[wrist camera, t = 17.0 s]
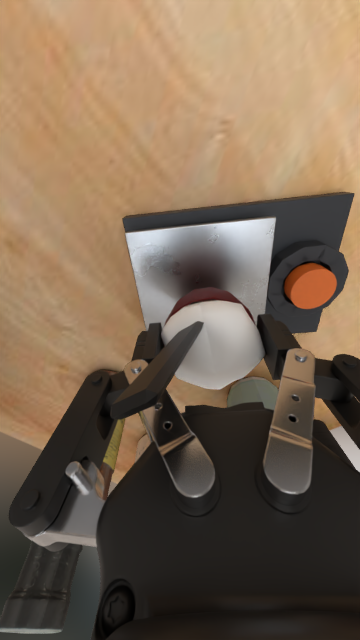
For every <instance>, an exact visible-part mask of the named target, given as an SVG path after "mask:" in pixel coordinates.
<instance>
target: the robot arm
mask: <svg viewBox="0 0 360 640" xmlns="http://www.w3.org/2000/svg"><path fill="white" fill-rule="evenodd" d="M256 327H257V329H258V330H259V333H260V336H261V340H262V343H263V346H264V349H265V352H266V355H265V356H264V357H263V358H264V360H265V363H266V365H267V367H268V369H269V372H270V374H271V376H272V379H273V380H280V381H281V382H280V386H279V391H278V395H277V400H276V404H275V409H274V410H272V409H268V408H265V407H264V404H263V402H247V403H241V404H237V405H234V406H231V407H227V408H219V407H213V406H207V405H196V406H185V412H184V413H180V412H179V410H178V408H177V407H176V405H175V403H174V402H173V400H172V398H171V397H170V395H169V394H168V392H167V390H166V389H165V391H164V392H163V394H162V395H161V397H160V399H159V400H158V402H157V404H156V405H154V406H152V407H150V408H147V409H145V410H143V411H140V412H138V413H139V416H140V418H141V421H142V423H143V425H144V428H145V430H146V433H147V436H148V438H149V441H150V445H149V446H148V447H147V449H146V450H145V451H144V452H143V454H142V455H141V456H140V457H139V458H138V460H137V461H136V462H135V463H134V465H133V466H132V467H131V468H130V470H129V471H128V472H127V473H126V475H125V476H124V477H123V478H122V480H121V481H120V482H119V483H118V485H117V486H116V487H115V488H114V490H113V491H112V492H111V493H110V495H109V496H108V497H107V499H106V500H103V491H104V484H105V483H104V478H103V476H102V475H101V473H100V471H99V470H100V468H101V465H102V462H103V460H104V457H105V454H106V451H107V449H108V446H109V443H110V441H111V438H112V435H113V432H114V430H115V427H116V424H117V422H118V419H113V418H111V416H110V411H111V405H112V404H113V403H114V402H115V401H116V399H117V398H118V397H119V396H120V395H121V394H122V393H123V392H124V391H125V390H126V389H127V387H128V386H129V385H130V384H131V383H132V382H133V381H134V380H135V379H136V378H137V377H138V375H139V374H140V373H141V372H142V371H143V370H144V369H145V368H146V367H147V366H148V365H149V363H150V362H151V361H152V360H153V359H154V358H155V357H156V356H157V355H158V354H159V353H160V351H161V350H162V349H163V348H164V344H163V340H162V338H161V332H162V326H161V322H158V323H150V324H149V328H148V331H142V332H141V333H140V334H139V336H138V338H137V342H136V347H135V350H134V353H133V357H132V361H131V362H129V363H128V364H127V365H126V366H125V368H124V371H122V372H119V373H116V374H113V375H109V373H108V372H106V371H96V372H94V373H92V374H90V375H89V376H88V377H87V378H86V379H85V381H84V382H83V384H82V386H81V387H80V389H79V391H78V392H77V394H76V396H75V398H74V399H73V401H72V403H71V404H70V406H69V408H68V409H67V411H66V413H65V414H64V416H63V418H62V419H61V421H60V423H59V424H58V426H57V428H56V429H55V431H54V433H53V434H52V436H51V438H50V439H49V441H48V443H47V445H46V446H45V448H44V450H43V451H42V453H41V455H40V456H39V458H38V460H37V461H36V463H35V465H34V466H33V468H32V470H31V471H30V473H29V475H28V476H27V478H26V480H25V482H24V483H23V485H22V487H21V488H20V490H19V492H18V493H17V495H16V497H15V498H14V500H13V502H12V504H11V507H10V510H9V520H10V523H11V524H12V525H13V526H15V527H16V528H18V529H19V530H20V531H22V533H23V534H24V535H25V536H26V537H28V538H29V539H31V540H32V541H33V542H35V543H36V544H38V545H40V546H43V547H45V548H46V549H48V550H49V551H53V552H55V551H59V550H61V549H63V548H65V547H66V546H67V545H68V544H69V543H72V544H80V545H87V546H95V547H97V551H98V556H99V562H100V575H101V583H100V584H101V585H100V598H99V605H98V610H97V615H96V619H95V623H94V627H93V631H92V636H91V640H360V472H358V471H357V470H356V469H355V468H353V467H352V466H351V465H349V464H348V463H347V462H345V461H344V460H343V459H341V458H340V457H339V456H338V455H336V454H335V453H334V452H332V451H331V450H330V449H328V448H327V447H326V446H324V445H323V444H322V443H321V442H319V441H318V440H317V439H315V438H314V437H313V436H312V433H313V418H314V403H315V397H316V398H321V399H322V400H323V401H324V403H325V404H326V405H327V407H328V408H329V409H330V411H331V412H332V413H333V415H334V416H335V417H336V419H337V420H338V421H339V423H340V424H341V425H342V427H343V428H344V429H345V431H346V432H347V433H348V435H349V436H350V437H351V439H352V440H353V441H354V443H355V444H356V445H357V447H358V448H359V449H360V359H358V358H356V357H354V356H351V355H346V354H339V355H336V356H334V358H333V360H332V361H330V360H323V359H317V358H315V356H314V355H313V354H312V353H311V352H310V351H308V350H305V349H302V348H301V347H300V345H299V344H298V342H297V341H296V339H295V338H294V336H293V335H292V333H291V332H290V331H289V329H288V327H287V326H286V325H285V324H284V323H282V322H281V321H279V320H278V321H275V320H274V318H273V317H272V315H271V314H258V316H257V325H256ZM353 395H354V396H355V397H356V398H357V399H356V398H355V397H354V396H353Z"/></svg>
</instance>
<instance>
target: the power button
mask: <svg viewBox="0 0 360 640" xmlns="http://www.w3.org/2000/svg"><path fill="white" fill-rule="evenodd" d="M336 286H337V280H336V277H335V275H334V274H333V273H332V272H331V271H329V270H328V269H326V268H324V267H323V266H321V265H320V264H317V263H306V264H302V265H300V266H298V267H296V268H295V269H294V270H292V271H291V272H290V274H289V275H288V276H287V278H286V280H285V283H284V291H285V294H286V295H287V297H288V298H289V299H290V300H291V301H292V302H293V304H294V305H295V306H297V307H299V308H302V309H312V308H316V307H318V306H321V305H322V304H324V303H325V302H327V301H328V300H329V299H330V298H331V297H332V295H333V294H334V292H335V290H336Z"/></svg>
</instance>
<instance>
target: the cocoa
mask: <svg viewBox="0 0 360 640" xmlns="http://www.w3.org/2000/svg"><path fill="white" fill-rule="evenodd" d="M161 338H162V340H163V344H164V348H163V349H162V350H161V351H160V353H159V354H158V355H157V356H156V357H155V358H154V359H153V360H152V361H151V362H150V363H149V365H148V366H147V367H146V368H145V369H144V370H143V371H142V372H141V373H140V374H139V375H138V377H137V378H136V379H135V380H134V381H133V382H132V383H131V384H130V385H129V386H128V387H127V389H126V390H125V391H124V392H123V393H122V394H121V395H120V396H119V397H118V398H117V399H116V401H115V402H114V403H113V404H112V405H111V411H110V416H111V418H113V419H120V420H122V419H124V418H126V417H129V416H131V415H133V414H136V413H138V412H140V411H143V410H145V409H147V408H150V407H152V406H154V405H156V404H157V402H158V400H159V399H160V397H161V395H162V394H163V392H164V391H165V389H166V387H167V386H168V384H169V382H170V381H171V379H172V377H173V376H174V374H175V376H176V377H177V379H180V380H183V381H185V382H188V383H191V384H194V385H197V386H199V387H202V388H205V389H218V390H220V389H222V388H224V387H225V386H227V385H228V384H230V383H232V382H233V381H236V380H239V379H242V378H243V377H245V376H246V375H247V374H248V373H249V372H250V371H252V370H253V369H254V368H255V367H256V366H257V365H258V364H259V362H260V361H261V360H262V359H263V357H264V356H265V355H266V352H265V349H264V346H263V343H262V340H261V336H260V333H259V330H258V329H257V327H256V325H255V322H254V319H253V316H252V314H251V312H250V311H249V309H248V308H247V307H246V306H245V305H244V304H243V303H242V302H240V301H239V300H238V299H237V298H236V297H235V296H234V295H232V294H231V293H230V292H228V291H225V290H221V289H218V288H214V287H207V288H201V289H194V290H193V291H191V292H190V293H188V294H186V295H185V296H183V297H182V298H180V299H179V300H178V301H177V303H176V304H175V306H174V307H173V309H172V311H171V313H170V314H169V316H168V318H167V320H166V322H165V325H164V328H163V329H162V332H161Z"/></svg>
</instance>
